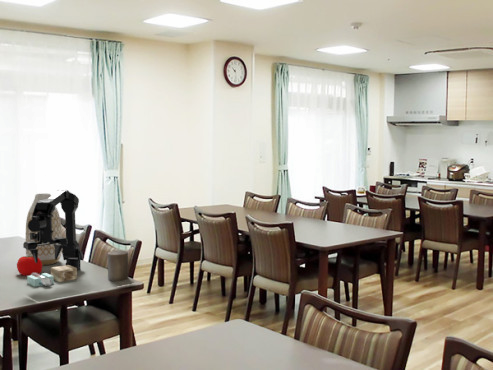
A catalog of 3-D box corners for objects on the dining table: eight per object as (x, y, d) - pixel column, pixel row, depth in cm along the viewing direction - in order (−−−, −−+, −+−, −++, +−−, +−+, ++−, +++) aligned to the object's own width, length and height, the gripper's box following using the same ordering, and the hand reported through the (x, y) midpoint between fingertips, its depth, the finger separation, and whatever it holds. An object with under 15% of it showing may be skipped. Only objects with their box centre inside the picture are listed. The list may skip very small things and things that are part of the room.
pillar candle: (132, 280, 266) (132, 249, 265) (115, 283, 259) (114, 252, 258) (120, 276, 272) (120, 246, 271) (103, 280, 265) (103, 249, 264)
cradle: (46, 281, 261) (46, 272, 261) (53, 284, 255) (53, 276, 255) (27, 284, 255) (27, 275, 254) (34, 288, 249) (34, 279, 249)
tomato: (35, 279, 265) (34, 258, 264) (11, 277, 268) (11, 257, 267) (47, 273, 276) (47, 253, 275) (25, 272, 279) (25, 252, 278)
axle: (30, 280, 259) (30, 272, 259) (37, 279, 262) (37, 272, 261) (44, 286, 248) (44, 279, 248) (51, 285, 250) (52, 278, 250)
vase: (51, 267, 289) (50, 196, 286) (19, 266, 292) (17, 195, 288) (68, 260, 307) (67, 193, 304) (37, 258, 310) (36, 192, 307)
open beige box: (68, 276, 270) (68, 264, 270) (77, 280, 264) (76, 268, 264) (50, 279, 264) (50, 267, 264) (59, 283, 258) (59, 271, 257)
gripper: (56, 223, 263) (57, 255, 265) (17, 228, 250) (18, 261, 252) (67, 226, 255) (68, 259, 257) (28, 231, 242) (29, 265, 244)
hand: (46, 261), depth 253 cm, fingers open, 9 cm apart
